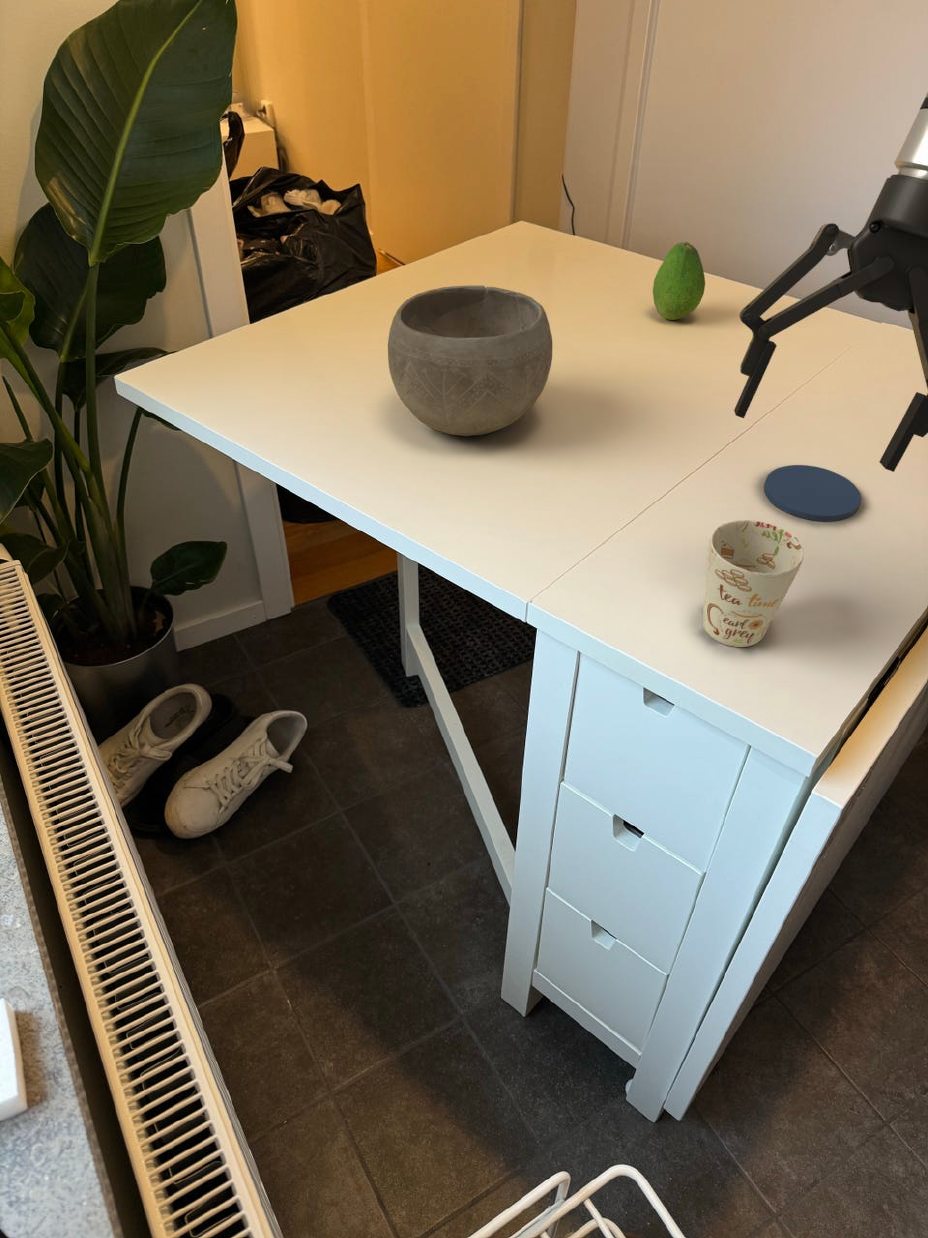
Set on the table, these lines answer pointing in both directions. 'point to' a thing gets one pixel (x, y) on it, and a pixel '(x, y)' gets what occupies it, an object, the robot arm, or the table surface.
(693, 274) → the fruit
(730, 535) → the mug
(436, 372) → the bowl
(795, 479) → the coaster
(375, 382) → the table surface
